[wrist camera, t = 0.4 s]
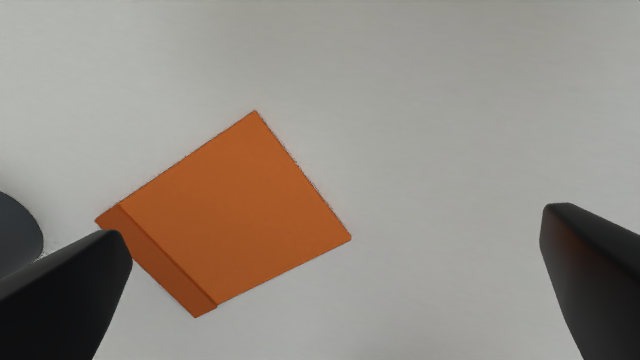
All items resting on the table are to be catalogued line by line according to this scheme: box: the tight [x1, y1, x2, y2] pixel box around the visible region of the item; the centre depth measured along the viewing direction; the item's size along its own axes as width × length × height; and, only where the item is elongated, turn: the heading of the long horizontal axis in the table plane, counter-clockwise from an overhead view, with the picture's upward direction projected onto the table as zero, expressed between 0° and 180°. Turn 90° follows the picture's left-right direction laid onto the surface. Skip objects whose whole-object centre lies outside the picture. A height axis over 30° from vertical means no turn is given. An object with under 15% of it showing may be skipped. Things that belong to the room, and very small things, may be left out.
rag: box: [94, 111, 351, 318], centre depth 27 cm, size 10×14×1 cm
